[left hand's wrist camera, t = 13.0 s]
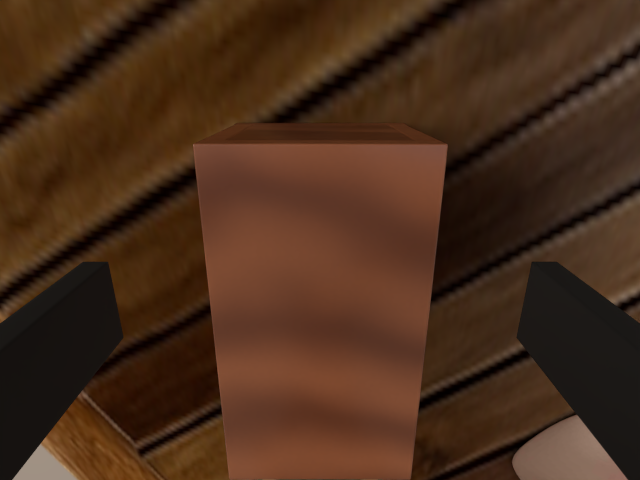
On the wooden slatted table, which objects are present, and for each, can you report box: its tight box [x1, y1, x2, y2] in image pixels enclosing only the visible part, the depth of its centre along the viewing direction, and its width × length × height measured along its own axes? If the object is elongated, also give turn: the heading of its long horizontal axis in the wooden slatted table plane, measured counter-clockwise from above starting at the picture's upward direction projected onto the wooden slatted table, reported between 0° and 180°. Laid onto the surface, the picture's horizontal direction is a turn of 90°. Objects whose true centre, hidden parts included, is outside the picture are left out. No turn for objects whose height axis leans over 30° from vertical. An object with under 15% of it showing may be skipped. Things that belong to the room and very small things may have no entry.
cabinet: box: [193, 123, 448, 479], centre depth 24 cm, size 19×10×10 cm, turn 0°
